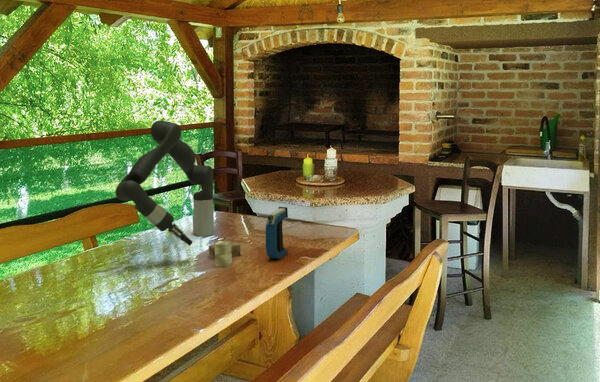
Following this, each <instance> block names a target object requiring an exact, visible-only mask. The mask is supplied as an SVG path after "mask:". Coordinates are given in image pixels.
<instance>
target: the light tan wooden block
mask: <svg viewBox="0 0 600 382" xmlns="http://www.w3.org/2000/svg"><path fill="white" fill-rule="evenodd" d="M208 251H209V252H208V255H209V256H208V257H209V258H210V259H212V260H213V261H215V244H214V245H213V244H210V245H208ZM231 253H232V258H235V257H241V255H242V253H241V244H239V243H238V242H231Z"/></svg>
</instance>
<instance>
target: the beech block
mask: <svg viewBox="0 0 600 382" xmlns="http://www.w3.org/2000/svg"><path fill="white" fill-rule="evenodd" d="M231 243H232V241H227V240H225V241H224V240H223V241H222V240H219V241H217V242H216V243H214V245H215V260H214V262H215V263H214V264H215V267H222V266H223V267H224V268H228V267H229V266H230V265H231V263H233V257H232V253H231Z"/></svg>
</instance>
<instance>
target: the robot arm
mask: <svg viewBox="0 0 600 382" xmlns="http://www.w3.org/2000/svg"><path fill="white" fill-rule="evenodd" d="M150 135H151V138H152V139H153V141H154V142H155V143H157V144H158V145H156V147H154V148H153V149H151V150H150V151H148V152H146V153H145V154H144V153H143V155H141V156H140V157H139V158H138V159H137V160H136V162H135V163H134V164H133V166H132V168H131V169H130V170H129V172H128V173H127V174H126V175H125V176H124V177H123V178H122V180H121V181H120V182H118V184H117V186H116V187H115V191H114V192H115V197H116V198H117V200H119V201H122V202H126V201H127V202H128V201H130V200H131V201H132V202H133V203H134V208H135V210H136V211H137V212H139V214H140V215H142V216H143V217H144V218H145V219H146V220H147V221H148V222H149V223H150V224H152V226H154V227H156V229H158V230H159V231H160V232H165V231H167V232H168V233H170V234H171V235H173V236H174V237H175V238H177V239H180V241H182V242H184V243H186V245H188V246H189V247H190V246H191V245H192V244H193V240H191V238H189V237H188V236H187V234H185V233H184V231H183V230H182V229H181V228H180V227H179V226H178V225H177V224H176V223H174V220H175V217H174V215H172V214H171V213H169V212H168V211H167V210H166V209H165V208H164V207H163V206H162V205H160V204H158V203H157V202H156V201H154V199H152V198H151V197H150V196H149V195H148V194H147V192H146V190H145V189H144V188H143V187H142V184H143V183H145V182H146V180H147V179H148V178H149V177H150V175H151V173H152V172H153V170H154V169H155V167H156V166H157V165H158V164H159V163H160V162H161V161H162V160H163V159H164V157H166V156H167V155H169V156H170V157H171V158H172V160H173V161H174V162H175V163H176V164H177V166H179V168H180V169H181V170H182V171H183V172H184V174H185V175H186V178H187V180H188V181H189V183H190V184H192V185H196V186H203V189H201V190H199V191H196V192H193V194H192V195H193V197H192V198H193V214H192V234H193V235H194V236H196V237H208V236H213V235H214V234H215V221H214V218H215V217H214V170H213V167H212V166H211V165H196V159H197V158H196V157H197V156H196V154H195V151H194V150H193V148H192V146H190V145H189V144H188V143H187V142H185V141H183V140H182V139H181V136H182V128H181V126H180V125H179V124H177V123H174V122H171V121H165V120H161V119H160V120H156V121H155V122H153V123H152V125H151V127H150Z"/></svg>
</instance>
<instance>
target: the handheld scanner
mask: <svg viewBox="0 0 600 382" xmlns="http://www.w3.org/2000/svg"><path fill="white" fill-rule="evenodd" d="M288 211H289V210H288V207H285V206H279V207H278V208H277V209H276V210H274V211H272V212H270V213H268V214H267V220H266V223H265V251H266V256H267V257H268V258H270V259H277V260H280V259H282V258H283V257H284V256H285V255H287V253H288V249H287V248H286V247H284V235H283V234H284V233H283V221H284V219H287V218H288V217H289V214H288Z"/></svg>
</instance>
